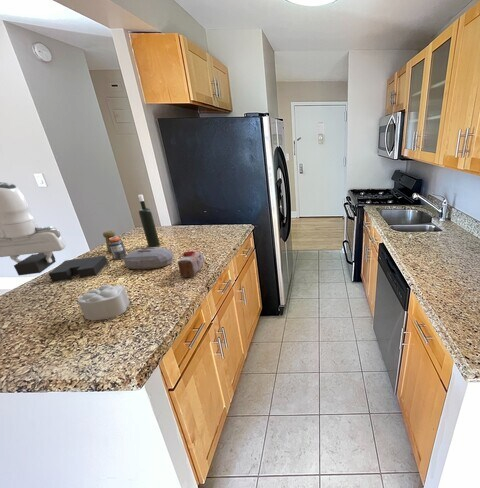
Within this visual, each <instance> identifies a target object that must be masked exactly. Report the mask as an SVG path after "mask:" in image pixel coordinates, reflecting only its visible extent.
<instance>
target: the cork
mask: <svg viewBox="0 0 480 488" xmlns="http://www.w3.org/2000/svg"><path fill="white" fill-rule="evenodd" d="M102 236H103V238H105V245H106V249H107V252H109V253H111V250H110V248H109V245H108V244H109V242H110V241H109V238H111V237H116V232H115V231H113V230H106V231H104V232H102Z"/></svg>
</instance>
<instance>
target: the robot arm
mask: <svg viewBox="0 0 480 488" xmlns="http://www.w3.org/2000/svg"><path fill="white" fill-rule="evenodd" d="M66 246H67V243H66V242H65V240H64V238H63V237H62V235H61V232H60V230H59V229H58V228H56V227H53V226H44V227H43V226H42V227H41V226H40V227H39V226H38V224H37V221H36V219H35V217H34V215H32V213H31V211H30V206H29V203H28V201H27V199H26V197H25V195H24V193H23V192H22V190H21V189H20V188H19V187H18V186H17V185H16V184H14V183H10V182H0V258H5V257H9V258H10V259H11V260H12V261H14V262H15V263H16V264H17V263H19V262H21V261H22V260H23V259H22V258H21V257H20V256H24V255H33V254H38V253H44V254H45V255H47V256H46V258H45V259H43V260H44V262H45V263H51V262H52V259H51V256H52V253H53V254H54V252H60V251H62V250H64V249H65V248H66Z"/></svg>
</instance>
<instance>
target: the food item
mask: <svg viewBox="0 0 480 488" xmlns="http://www.w3.org/2000/svg"><path fill="white" fill-rule="evenodd" d="M204 261H205V257H204V253H202V252H201V251H200V250H198V249H190V250H187V251H185V252H183V253H182V257H181V258H180V259H179V260H178V261H177V265H178V272H179V276H180V277H181V278H193V277H195V275H196V274H197V272H200V271H201V268H202V266H203V263H204Z"/></svg>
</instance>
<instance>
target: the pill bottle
mask: <svg viewBox="0 0 480 488" xmlns="http://www.w3.org/2000/svg"><path fill="white" fill-rule="evenodd" d="M109 241H110V242H109V244H108V245H109V248H110V250H111V252H110V253H111V256H112V258H113V260H114V261H115V260H117V261H118V260H124V259H125V257H126V255H128V253H127V251H126V248H125V244H124V242H123V240H121V239H120V237H119V236H115V237H111V238H109Z"/></svg>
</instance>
